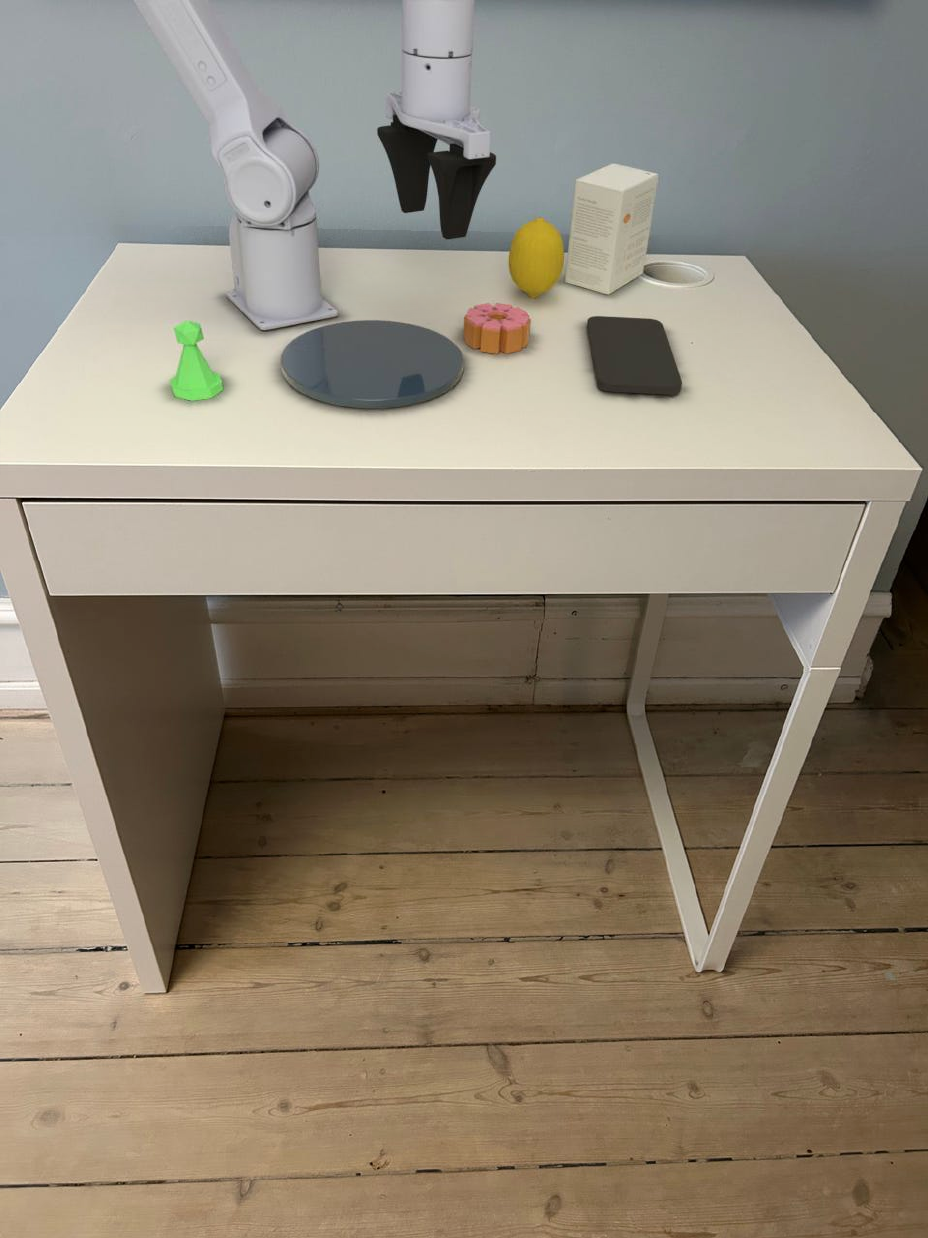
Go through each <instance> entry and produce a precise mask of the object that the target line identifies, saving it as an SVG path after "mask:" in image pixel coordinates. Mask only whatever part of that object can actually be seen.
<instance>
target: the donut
mask: <svg viewBox="0 0 928 1238" xmlns="http://www.w3.org/2000/svg"><path fill="white" fill-rule="evenodd" d="M531 322H532V321H531V318H530V314H528V312H527V311H525V310H524V309H523V308H522V307H519V306H517V307H513V304H507V303H500V302H495V303H494V305H493V304H492V303H489V302H487V303H480V304H477V305H474V306H473V307H469V309H468V310H467V312H466V314H465V315H464V317H463V334H462V336H463V337H462V339H463V340H464V343H465V344H466V345H467V346H469V347H470V348H471V349H473V350H476V349H480V350H479V351H480V353H488V354H494V355H499V353H500V351H501V352H503V353H504V354H505V355H508V354H512V353H517V352H521V351H522V349H525V348H526V347H527V345H528V343H529V342H530V331H531Z"/></svg>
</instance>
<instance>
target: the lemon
mask: <svg viewBox="0 0 928 1238" xmlns="http://www.w3.org/2000/svg"><path fill="white" fill-rule="evenodd" d="M508 252H509V253H508V270H509V274H510V277H511V279H512V282H513V283H514V285H515V286H516V287H517V288H518V289H519V290H521V291H522V292H524V293H526V294H527V295H528V297H529V298H531V299H536V298H537V297H538V296H540V295H541V294H543V293H546V292H548V291H549V290H551V289H552V288H553V287H554V286H555V285H556V284H557V283H558V281H559V279H560V277H561V275H562V273H563V269H564V264H565V249H564V241H563V237H562V235H561V233H560V231H559V230H558V229H557V228H556V227H555V226H554V225H553V224H552V223H550V222H548V221H546V220H545V219H544V217H541V216H538V217H535V218H534V220H530V221H528V222H526V223H524V224H523V225H521V227H519V228H518V229H517V230H516V232H515V234H514V235H513V238H512V241H511V244H510V248H509V251H508Z"/></svg>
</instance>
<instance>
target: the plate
mask: <svg viewBox="0 0 928 1238" xmlns="http://www.w3.org/2000/svg"><path fill="white" fill-rule="evenodd" d="M464 360H465V359H464V355H463V353H462V350H461V349H460V348H459V346H458V345H457V344H456V343H455V342H453V341H452V340H451V339H450V338H448V337H447V336H445V335H443V334H441V333H439V332H437V331H434V330H432V329H430V328H427V327H424V326H420V325H416V324H412V323H407V322H401V321H392V320H381V319H380V320H379V319H372V320H371V319H363V320H362V319H361V320H350V321H342V322H336V323H330V324H327V325H322V326H320V327H316V328H313V329H310V330H308V331H306V332H304V333H302V334H299V335H298V336H297V337H295V338H294V339H292V340H291V341H290V342H289V343H288V344H287V345H286V346H285V347H284V349H283V351H282V353H281V357H280V366H281V367H280V368H281V373H282V375H283V378H284V379H285V380H286V382H287V383H288V384H289V385H290V386H291V387H292V388H294V389H295V390H296V391H298V392H299V393H301V394H302V395H305V396H307V397H309V398H311V399H314V400H317V401H320V402H323V403H327V404H331V405H336V406H341V407H348V408H354V409H355V408H356V409H357V408H358V409H389V408H399V407H405V406H406V407H407V406H411V405H415V404H420V403H424V402H426V401H429V400H432V399H435V398H437V397H439V396H441V395H443V394H445V393H446V392H448V391H449V390H451V389H453V387H455V386H456V385H457V383H459V381H460V379H461V377H462V376H463V374H464V363H465V362H464Z"/></svg>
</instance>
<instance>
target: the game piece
mask: <svg viewBox="0 0 928 1238" xmlns="http://www.w3.org/2000/svg"><path fill="white" fill-rule="evenodd" d="M202 329H203V328H202V326H201V323H198V322H196V321H195V322H194V321H191V320H185V321H183V322H181V323H179V324H178V325H176V326H175V327H173V331H174V334H175V338H176V343H177V344H180V345H183V347H182V350H181V355H180V358H179V362H178V365H177V370H176V374H175V375H174V376H173V377H172V378H170V380H169V381H170V387H171V390H172V393H173V394H174V397H176V398H178V399H183V400H187V401H191V402H194V401H201V400H207V399H213V398H214V397H216V396H217V395H219V394H220V393H221V392H222V391H224V386H223V379H222V377H221V376H220V374H219V372H216V371H213V370H212V369H211V367H210V365H209V364H208V362H207V360H206V359H205V356H204V355H203V352H202V351H201V349H200V347H199V346H198V343H200V342H201V341H203V340H205V338H204V333H203V330H202Z"/></svg>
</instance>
